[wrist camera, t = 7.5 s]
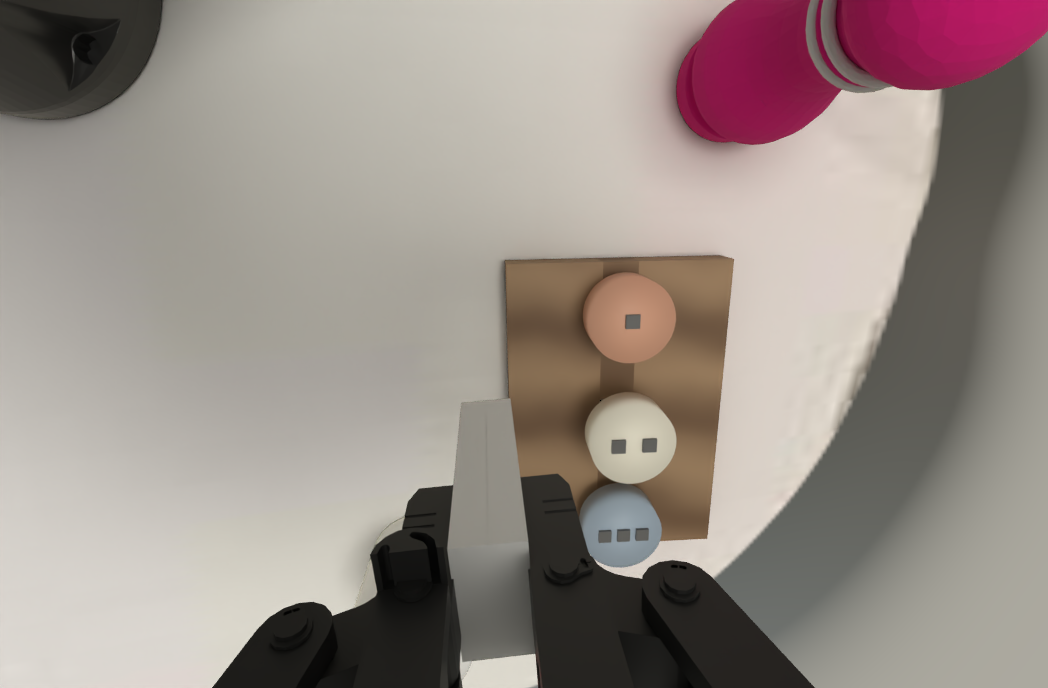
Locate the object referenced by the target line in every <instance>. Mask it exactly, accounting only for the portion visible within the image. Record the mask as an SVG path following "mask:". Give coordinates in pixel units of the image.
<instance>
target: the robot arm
mask: <svg viewBox="0 0 1048 688" xmlns="http://www.w3.org/2000/svg"><path fill="white" fill-rule="evenodd" d="M161 2H162V0H0V113H1V114H7V115H13V116H18V117H24V118H32V119H61V118H68V117H73V116H78V115H81V114H84V113H88V112H90V111H93V110H95V109H97V108H99V107H101V106H103V105H105V104H107V103H108V102H110V101H111V100H113V99H114V98H116V97H117V96H118V95H120V94H121V93H122V92H123V91H124V90H125V89H126V88H127V87H128V86H129V85H130V84H131V83H132V82H133V81H134V80H135V78H136V77H137V75H138V74H139V73H140V71H141V70H142V68H143V66H144V65H145V63H146V61H147V59H148V57H149V55H150V53H151V50H152V48H153V45H154V42H155V39H156V36H157V32H158V27H159V22H160V15H161ZM370 557H371V562H372V567H373V572H374V578H375V583H376V588H377V594H376V596H375V597H374V598H372V599H371V600H369V601H368V602H366V603H364V604H362V605H360V606H358V607H355V608H353V609H350V610H348V611H345V612H342V613H339V614H337V615H334V616H332V614H331V612H330V611H329V610H328V609H327V607H326V606H325V605H322V604H318V603H315V602H306V603H298V604H295V605H292V606H289V607H286V608H284V609H282V610H280V611H279V612H277V613H276V614H274V615H272V616H271V617H269V618H268V619H267V620H266V621H265V622H264V623H263V624H262V625H261V626H260V627H259V628H258V629H257V631H256V632H255V633H254V634H253V636H252V637H251V638H250V640H249V641H248V642H247V644H246V645H245V646H244V647H243V649H242V650H241V651H240V653H239V654H238V655H237V656H236V658H235V659H234V660H233V662H232V663H231V664H230V665H229V667H228V668H227V669H226V671H225V672H224V673H223V675H222V676H221V677H220V678H219V680H218V681H217V682H216V684H215V685H214V686H213V687H212V688H462V680H461V673H460V654H461V656H462V662H468V661H476V660H485V659H493V658H502V657H510V656H519V655H527V654H536V665H537V678H538V688H814V686H813V685H811V683H810V682H809V681H808V680H807V679H806V678H805V677H804V676H803V675H802V674H801V672H800V671H798V669H797V668H796V667H795V666H794V665H793V664H792V663H791V662H790V661H789V660H788V659H787V657H786V656H785V655H784V654H783V653H782V652H781V651H780V650H779V649H778V648H777V647H776V646H775V645H774V643H773V642H772V641H771V640H770V639H769V638H768V637H767V636H766V635H765V634H764V633H763V632H762V631H761V630H760V629H759V628H758V626H757V625H756V624H755V623H754V622H753V621H752V620H751V619H750V618H749V617H748V616H747V615H746V613H745V612H744V611H743V610H742V609H741V608H740V607H739V606H738V605H737V604H736V603H735V602H734V601H733V600H732V599H731V597H730V596H729V595H728V594H727V593H726V592H725V591H724V590H723V589H722V588H721V587H720V585H719V584H718V583H717V582H716V581H715V580H714V579H713V578H712V577H711V576H710V575H709V574H707V573H706V572H705V571H704V570H702V569H701V568H699V567H697V566H695V565H692V564H690V563H687V562H681V561H674V560H671V561H664V562H659V563H657V564H655V565H653V566H651V567H649V568H648V569H647V571H646V572H645V573H644V575H643V579H640V578H633V577H626V576H621V575H617V574H614V573H611V572H609V571H607V570H605V569H603V568H602V567H600V566H599V565H598V564H597V563H596V562H595V560H594V558H593V557H592V556H590V554H589V552H588V548H587V545H586V541H585V538H584V534H583V531H582V527H581V524H580V520H579V517H578V513H577V511H576V506H575V502H574V500H573V495H572V492H571V488H570V485H569V483H568V482H567V481H565V480H564V479H563V478H562V477H561V476H560V475H559V474H548V475H538V476H528V477H520V471H519V463H518V455H517V447H516V439H515V431H514V423H513V415H512V407H511V399H510V398H508V399H497V400H486V401H475V402H464V403H461V412H460V422H459V432H458V443H457V453H456V463H455V474H454V484H453V485H452V486H442V487H432V488H422V489H419V490H418V491H417V492H416V493H415V494H414V495H413V497H412V498H411V499H410V500H409V501H408V504H407V508H406V513H405V519H404V521H403V526H402V530H399V531H396V532H394V533H392V534H390V535H388V536H386V537H385V538H383V539H382V540H381V541H380V542H379V543H378V544H376V545H375V547H374V549H373V551H372V552H371V554H370Z"/></svg>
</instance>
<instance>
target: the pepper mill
mask: <svg viewBox="0 0 1048 688" xmlns="http://www.w3.org/2000/svg"><path fill="white" fill-rule="evenodd" d="M1047 31H1048V0H736V1H734V2H732V3H731V4H729V5H728V6H727V7H726V8H725V9H723V10H722V11H721V12H720V13H719V14H718V15H717V16H716V18H715V19H714V20H713V21H712V22H711V24H710V25H709V27H708V28H707V30H706V31H705V33H704V34H703V36H702V38H701V39H700V40H699V41H698V42H697V43H696V44H695V45H694V46H693V47H692V48H691V50H690V51H689V53H688V54H687V56H686V57H685V59H684V61H683V63H682V65H681V68H680V71H679V75H678V79H677V101H678V105H679V109H680V112H681V114H682V116H683V118H684V120H685V122H686V123H687V124H688V126H689V127H690V128H691V129H692V130H693V131H694V132H696V133H697V134H698V135H699V136H701V137H703V138H705V139H708V140H710V141H715V142H732V141H734V142H737V143H742V144H751V145H754V144H765V143H769V142H773V141H776V140H778V139H781V138H783V137H786V136H789V135H791V134H794V133H795V132H797V131H799V130H800V129H802V128H804V127H805V126H806V125H807V124H809V123H810V122H811V121H813V120H814V119H815V118H816V117H818V116H819V115H820V114H821V113H822V112H823V111H824V110H825V109H826V108H827V107H828V106H829V105H830V103H831V102H832V101H833V100H834V98H835V97H836V96H837V95H838V93H839V92H840V91H841V90H845V91H850V92H855V93H867V92H875V91H878V90H881V89H884V88H886V87H892V86H894V87H897V88H900V89H908V90H935V89H942V88H948V87H952V86H955V85H958V84H961V83H965V82H967V81H971V80H974V79H977V78H979V77H981V76H984V75H985V74H987V73H990V72H992V71H994V70H995V69H998V68H1000V67H1002V66H1003V65H1005V64H1006V63H1008V62H1009V61H1011V60H1012V59H1014V58H1015V57H1017V56H1018V55H1020V54H1021V53H1023V52H1024V51H1025V50H1027V49H1028V48H1029V47H1030V46H1031V45H1032V44H1034V43H1035V42H1036V41H1037V40H1038V39H1040V38H1041V37H1042V36H1043V35H1044V34H1045V33H1046V32H1047Z"/></svg>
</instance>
